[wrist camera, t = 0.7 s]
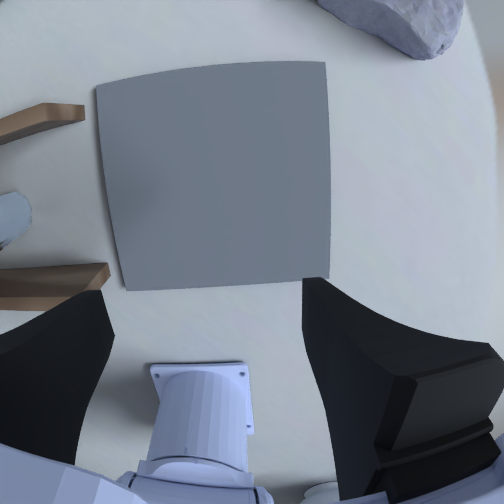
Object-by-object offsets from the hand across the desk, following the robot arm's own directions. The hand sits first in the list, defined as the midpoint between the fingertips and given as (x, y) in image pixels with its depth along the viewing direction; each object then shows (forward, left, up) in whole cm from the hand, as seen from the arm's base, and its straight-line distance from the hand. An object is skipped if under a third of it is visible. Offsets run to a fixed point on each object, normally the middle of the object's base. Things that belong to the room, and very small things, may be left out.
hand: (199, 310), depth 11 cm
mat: (+3, 0, -10) cm, 11 cm away
